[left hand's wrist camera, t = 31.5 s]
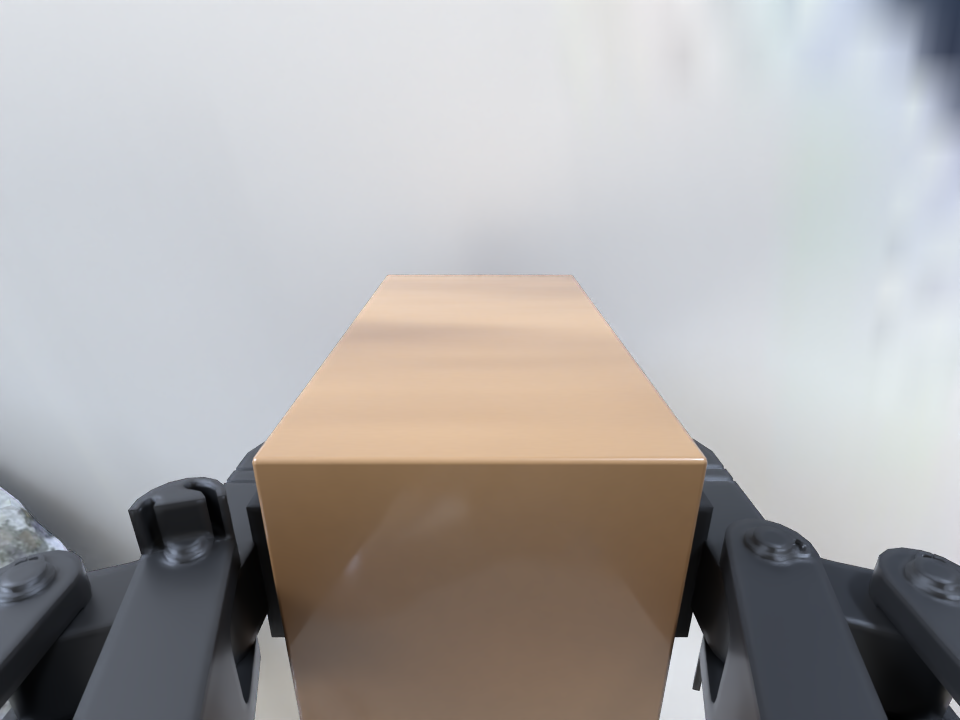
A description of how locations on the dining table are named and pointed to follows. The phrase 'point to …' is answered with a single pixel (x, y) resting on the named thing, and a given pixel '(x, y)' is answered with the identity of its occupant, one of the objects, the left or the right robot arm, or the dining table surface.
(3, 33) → the dining table surface
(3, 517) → the concrete block
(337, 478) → the block
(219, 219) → the dining table surface
